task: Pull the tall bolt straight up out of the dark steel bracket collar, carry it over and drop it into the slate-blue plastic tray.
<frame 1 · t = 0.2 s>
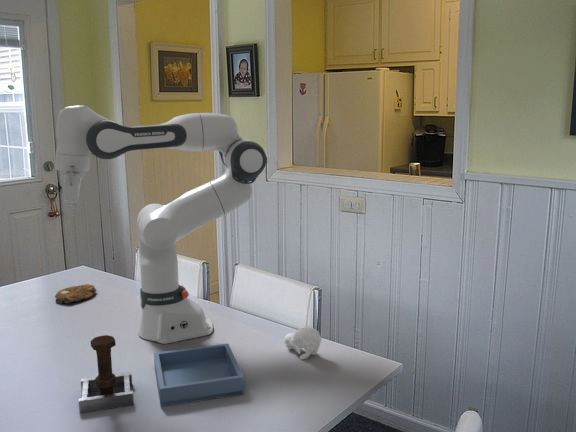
hand: (71, 213, 161), 39 cm above the table, tool pointing down, fingers open, 8 cm apart
tray: (197, 380, 146), on the table
decorative rock: (77, 298, 206), on the table
white figurine: (300, 353, 162), on the table
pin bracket: (107, 397, 138), on the table
bolt: (107, 398, 138), resting in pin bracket
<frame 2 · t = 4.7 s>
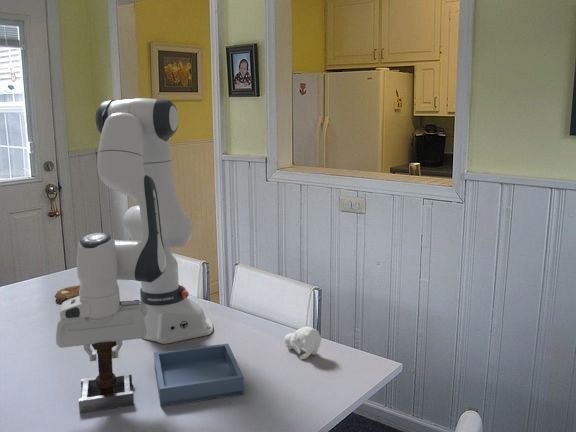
hand: (104, 358, 136), 10 cm above the table, tool pointing down, fingers closed on bolt, 4 cm apart
bolt: (107, 398, 138), resting in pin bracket, touching gripper
everything else where it was.
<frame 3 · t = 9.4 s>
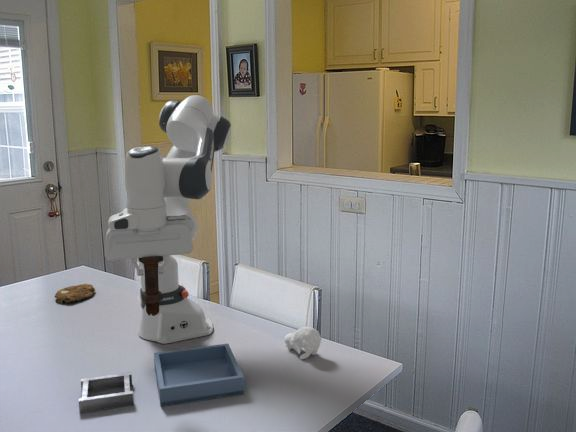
hand: (151, 274, 136), 30 cm above the table, tool pointing down, fingers closed on bolt, 4 cm apart
bolt: (152, 314, 139), point 19 cm above the table, touching gripper
everything else where it was.
when the fingers open (13 cm above the table, at t = 14.1 s): bolt moves 7 cm, resting on tray.
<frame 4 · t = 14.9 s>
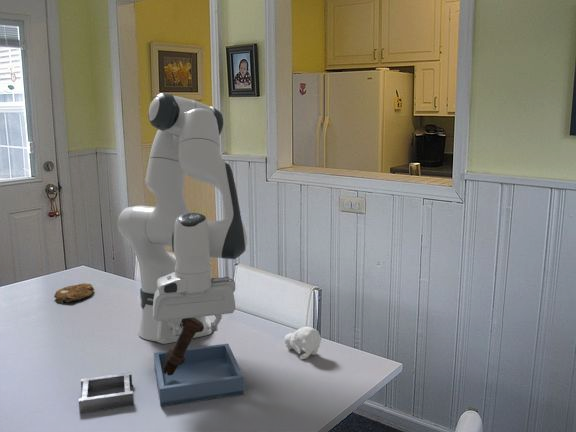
hand: (195, 332, 143), 13 cm above the table, tool pointing down, fingers open, 8 cm apart
bolt: (166, 373, 144), point 3 cm above the table, touching gripper, tray
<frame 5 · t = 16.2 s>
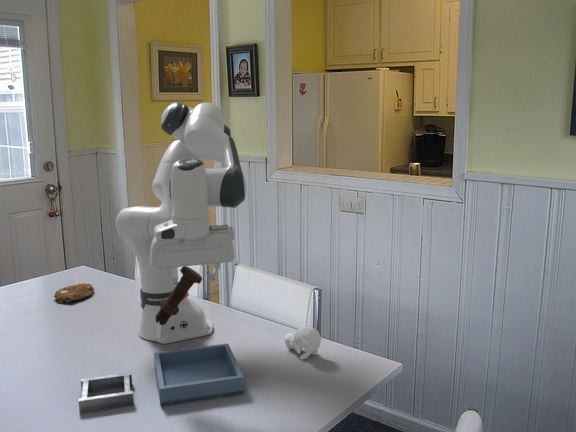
hand: (193, 281, 141), 26 cm above the table, tool pointing down, fingers open, 8 cm apart
bolt: (158, 322, 141), point 17 cm above the table, touching gripper
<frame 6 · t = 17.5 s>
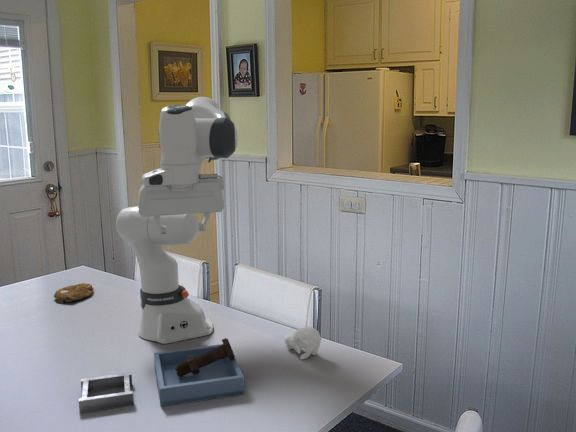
hand: (182, 232, 138), 39 cm above the table, tool pointing down, fingers open, 8 cm apart
bolt: (175, 372, 145), point 2 cm above the table, touching tray
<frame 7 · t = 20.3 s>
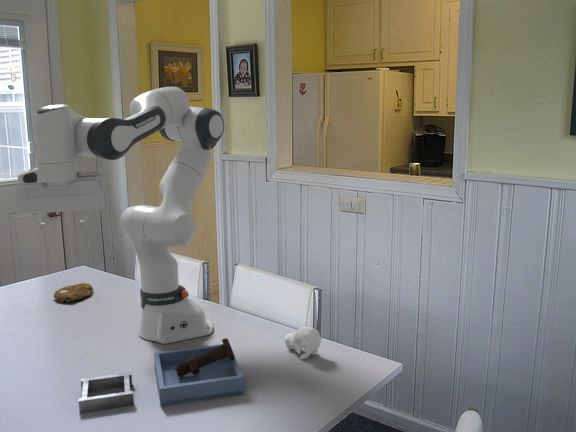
hand: (63, 229, 141), 39 cm above the table, tool pointing down, fingers open, 8 cm apart
at the end: bolt inside the target area on the tray (5.4 cm from its centre), point 2.4 cm above the tray's base; the gripper is holding nothing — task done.
